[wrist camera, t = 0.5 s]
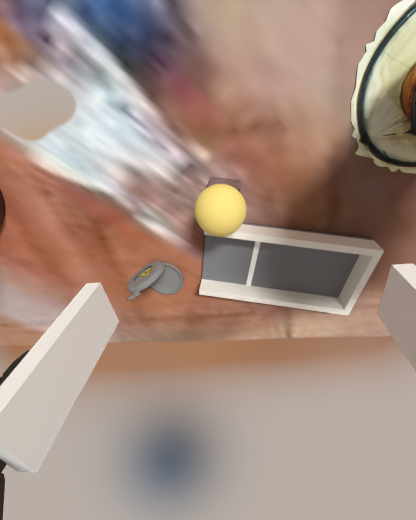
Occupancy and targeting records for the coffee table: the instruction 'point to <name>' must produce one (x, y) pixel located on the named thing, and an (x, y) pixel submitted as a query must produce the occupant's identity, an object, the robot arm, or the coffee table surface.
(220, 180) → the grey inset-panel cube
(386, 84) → the decorative vase
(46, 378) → the robot arm
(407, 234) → the coffee table surface
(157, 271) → the pocket watch
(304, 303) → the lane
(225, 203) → the ball
